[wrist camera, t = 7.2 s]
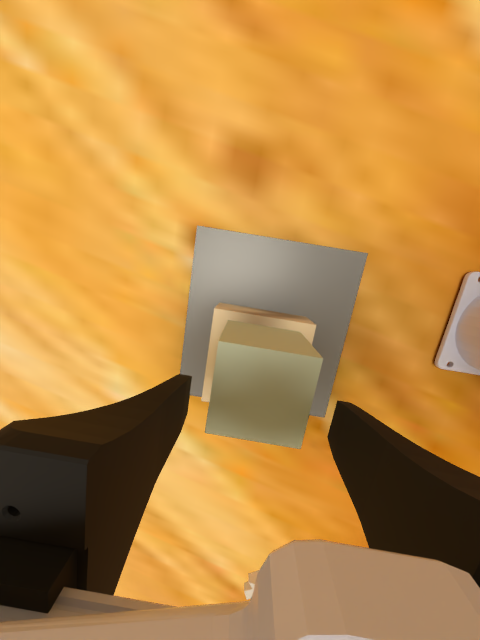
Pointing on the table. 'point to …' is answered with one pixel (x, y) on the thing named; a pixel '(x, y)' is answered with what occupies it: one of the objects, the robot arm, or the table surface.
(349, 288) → the gray board
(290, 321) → the birch plinth
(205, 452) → the table surface
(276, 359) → the sage block
